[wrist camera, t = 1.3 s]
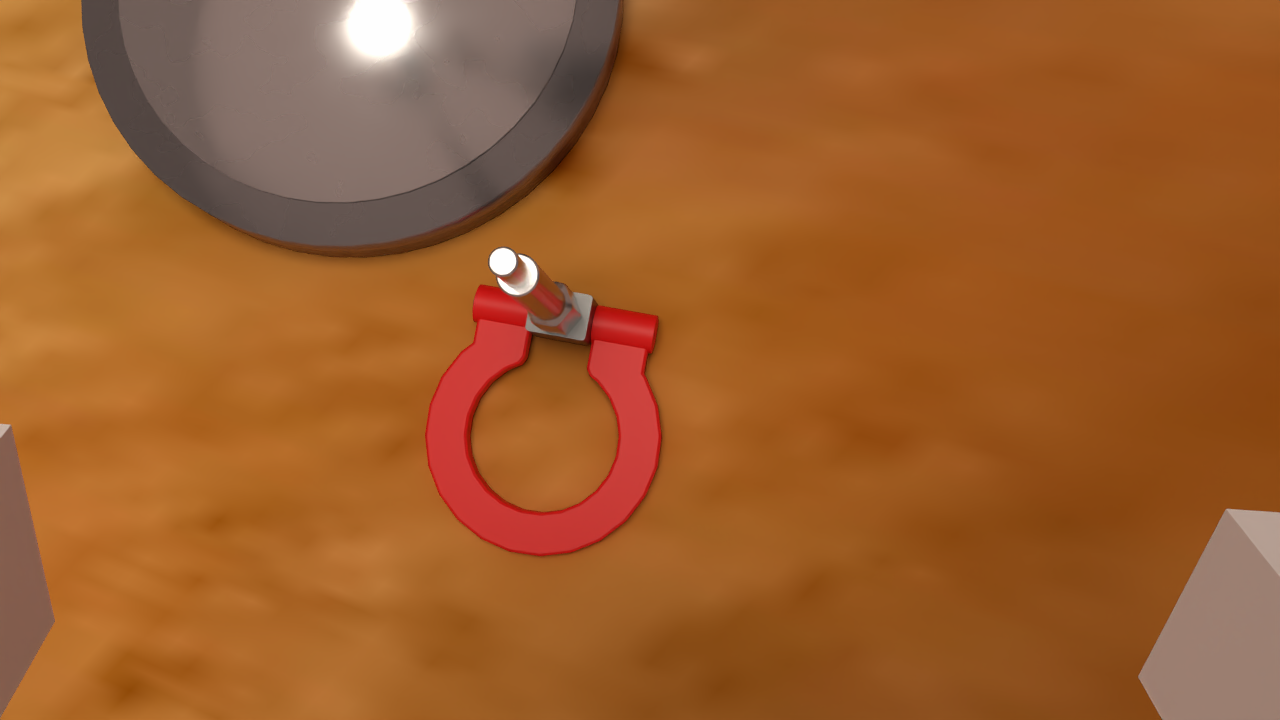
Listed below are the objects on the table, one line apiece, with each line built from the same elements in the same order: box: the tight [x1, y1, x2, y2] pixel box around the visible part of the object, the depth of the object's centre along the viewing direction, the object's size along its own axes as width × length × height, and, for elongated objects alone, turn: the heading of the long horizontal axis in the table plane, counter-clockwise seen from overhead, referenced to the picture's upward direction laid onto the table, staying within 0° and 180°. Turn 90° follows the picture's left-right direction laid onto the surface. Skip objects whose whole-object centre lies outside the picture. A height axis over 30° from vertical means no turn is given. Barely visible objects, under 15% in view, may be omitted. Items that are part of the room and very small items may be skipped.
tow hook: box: [425, 247, 662, 556], centre depth 33 cm, size 8×13×9 cm
